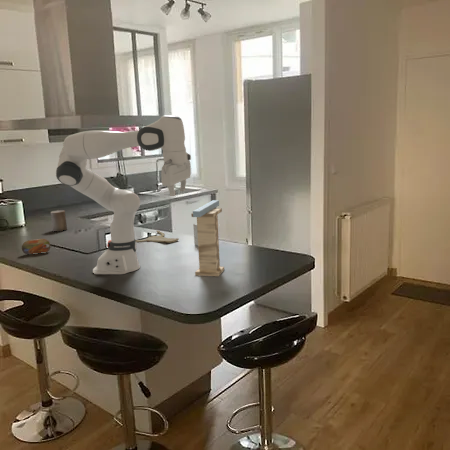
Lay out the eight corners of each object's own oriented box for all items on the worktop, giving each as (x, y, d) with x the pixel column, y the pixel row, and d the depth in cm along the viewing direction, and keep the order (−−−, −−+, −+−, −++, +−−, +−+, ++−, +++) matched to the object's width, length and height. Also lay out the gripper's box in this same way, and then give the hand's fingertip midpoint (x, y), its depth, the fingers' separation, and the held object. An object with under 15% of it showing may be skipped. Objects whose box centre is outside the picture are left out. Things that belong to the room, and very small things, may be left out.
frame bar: (199, 217, 195) (199, 211, 194) (193, 217, 195) (192, 211, 195) (219, 205, 223) (218, 200, 222) (213, 205, 224) (212, 200, 223)
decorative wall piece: (192, 239, 288) (158, 233, 306) (191, 234, 287) (158, 228, 306) (155, 249, 265) (122, 242, 284) (155, 244, 264) (122, 237, 283)
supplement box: (211, 245, 266) (210, 223, 264) (200, 247, 262) (199, 225, 260) (204, 242, 272) (203, 221, 270) (194, 244, 268) (192, 223, 266)
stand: (217, 277, 207) (214, 213, 201) (193, 276, 210) (190, 213, 204) (225, 268, 220) (222, 208, 214) (203, 267, 223) (200, 208, 217)
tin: (22, 256, 259) (20, 241, 258) (23, 254, 262) (21, 240, 261) (51, 252, 264) (49, 238, 262) (51, 251, 267) (49, 237, 265)
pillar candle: (70, 229, 329) (67, 208, 326) (62, 231, 320) (59, 210, 317) (57, 229, 331) (55, 208, 328) (49, 232, 322) (47, 210, 319)
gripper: (171, 161, 168) (174, 199, 172) (192, 154, 187) (195, 188, 191) (155, 161, 170) (159, 198, 174) (178, 155, 189) (180, 188, 193)
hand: (178, 193), depth 182 cm, fingers open, 8 cm apart
